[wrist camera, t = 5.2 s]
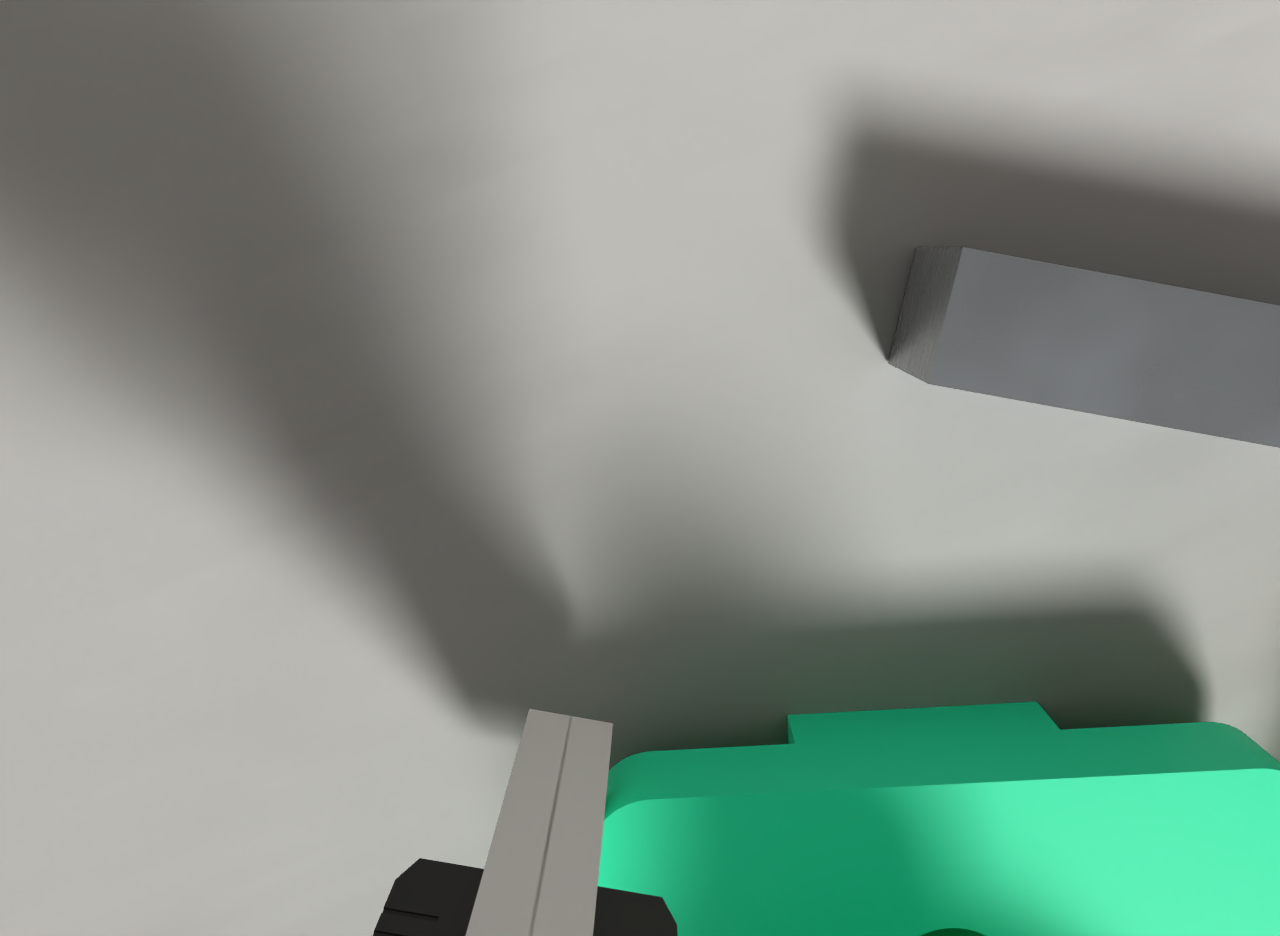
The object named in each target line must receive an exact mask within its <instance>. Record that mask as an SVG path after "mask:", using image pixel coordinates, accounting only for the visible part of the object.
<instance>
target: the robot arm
mask: <svg viewBox="0 0 1280 936" xmlns="http://www.w3.org/2000/svg"><path fill="white" fill-rule="evenodd" d="M612 730H613V723H608V722H603V721H597V720H591V719H586V718H580V717H574V716H569V715H563V714H557V713H551V712H546V711H540V710H534V709H529V712H528V715H527V719H526V722H525V726H524V729H523V733H522V736H521V740H520V744H519V747H518V751H517V754H516V758H515V761H514V765H513V768H512V772H511V776H510V779H509V783H508V786H507V790H506V793H505V797H504V800H503V804H502V808H501V811H500V815H499V818H498V822H497V825H496V829H495V832H494V836H493V840H492V843H491V847H490V850H489V854H488V857H487V861H486V864H485V868H484V869H480V868H474V867H468V866H462V865H456V864H451V863H445V862H439V861H433V860H427V859H421V858H420V859H418V860H417V861H416V862H415V863H414V864H413V865H412V866H411V867H409V868H408V869H407V870H406V871H405V872H404V873H403V874H401V875H400V876H399V877H398V878H397V879H396V880H395V882H394V884H393V887H392V889H391V892H390V894H389V896H388V899H387V901H386V904H385V906H384V910H383V913H381V916H380V918H379V920H378V923H377V925H376V928H375V930H374V934H373V936H678V934H677V924H676V922H675V920H674V918H673V916H672V914H671V912H670V911H669V909H668V907H667V905H666V903H665V901H664V899H663V898H662V897H659V896H653V895H647V894H641V893H635V892H630V891H624V890H618V889H612V888H606V887H600V886H598V877H599V866H600V856H601V845H602V835H603V824H604V814H605V803H606V793H607V782H608V772H609V761H610V751H611V740H612Z"/></svg>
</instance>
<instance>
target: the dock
mask: <svg viewBox="0 0 1280 936" xmlns="http://www.w3.org/2000/svg"><path fill="white" fill-rule="evenodd" d="M888 363H889V364H891V365H893V366H894V367H896V368H898V369H900V370H902V371H904V372H906V373H908V374H910V375H912V376H914V377H916V378H918V379H920V380H922V381H924V382H926V383H928V384H932V385H938V386H943V387H949V388H954V389H960V390H965V391H971V392H976V393H982V394H987V395H993V396H998V397H1004V398H1009V399H1015V400H1020V401H1026V402H1031V403H1037V404H1042V405H1048V406H1053V407H1059V408H1064V409H1070V410H1075V411H1081V412H1086V413H1092V414H1097V415H1103V416H1108V417H1114V418H1119V419H1125V420H1130V421H1136V422H1141V423H1147V424H1152V425H1158V426H1163V427H1169V428H1174V429H1180V430H1185V431H1191V432H1196V433H1202V434H1207V435H1213V436H1218V437H1224V438H1229V439H1235V440H1240V441H1246V442H1251V443H1257V444H1262V445H1268V446H1273V447H1279V448H1280V305H1274V304H1269V303H1263V302H1258V301H1253V300H1247V299H1242V298H1236V297H1231V296H1226V295H1220V294H1215V293H1209V292H1204V291H1199V290H1193V289H1188V288H1182V287H1177V286H1172V285H1166V284H1161V283H1155V282H1150V281H1145V280H1139V279H1134V278H1128V277H1123V276H1118V275H1112V274H1107V273H1102V272H1096V271H1091V270H1085V269H1080V268H1075V267H1069V266H1064V265H1058V264H1053V263H1048V262H1042V261H1037V260H1031V259H1026V258H1021V257H1015V256H1010V255H1004V254H999V253H994V252H988V251H983V250H977V249H972V248H967V247H916V250H915V254H914V258H913V262H912V267H911V271H910V275H909V279H908V283H907V287H906V291H905V296H904V300H903V304H902V308H901V312H900V316H899V321H898V325H897V329H896V333H895V337H894V341H893V345H892V350H891V354H890V358H889V362H888Z"/></svg>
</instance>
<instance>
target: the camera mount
mask: <svg viewBox="0 0 1280 936" xmlns="http://www.w3.org/2000/svg"><path fill="white" fill-rule="evenodd" d="M787 717H788V744H778V745H759V746H740V747H721V748H702V749H683V750H664V751H648V752H642V753H637V754H634V755H631V756H629V757H627V758H625V759H623V760H621V761H620V762H618V763H617V764H616V765H614V766H613V767H612V768H611V769H610V770H609V772H608V782H607V793H606V803H605V814H604V824H603V835H602V845H601V856H600V866H599V877H598V886H600V887H606V888H612V889H618V890H624V891H630V892H635V893H641V894H647V895H653V896H659V897H662V898H663V899H664V901H665V903H666V905H667V907H668V909H669V911H670V912H671V914H672V916H673V918H674V920H675V922H676V924H677V934H678V936H1280V762H1278V761H1277V760H1276V759H1275V758H1273V757H1272V756H1271V755H1270V754H1269V753H1267V752H1266V751H1265V750H1264V749H1263V748H1261V747H1260V746H1259V745H1258V744H1257V743H1255V742H1254V741H1253V740H1252V739H1251V738H1249V737H1248V736H1247V735H1246V734H1244V733H1243V732H1242V731H1240V730H1238V729H1237V728H1235V727H1232V726H1230V725H1226V724H1223V723H1217V722H1195V723H1176V724H1157V725H1138V726H1119V727H1100V728H1081V729H1062V730H1060V729H1059V728H1058V726H1057V725H1056V724H1055V723H1054V722H1053V720H1052V719H1051V718H1050V717H1049V716H1048V714H1047V713H1046V712H1045V711H1044V710H1043V708H1042V707H1041V706H1040V705H1039V704H1038V702H1019V703H1000V704H982V705H963V706H945V707H926V708H908V709H889V710H871V711H852V712H834V713H815V714H797V715H787Z"/></svg>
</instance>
